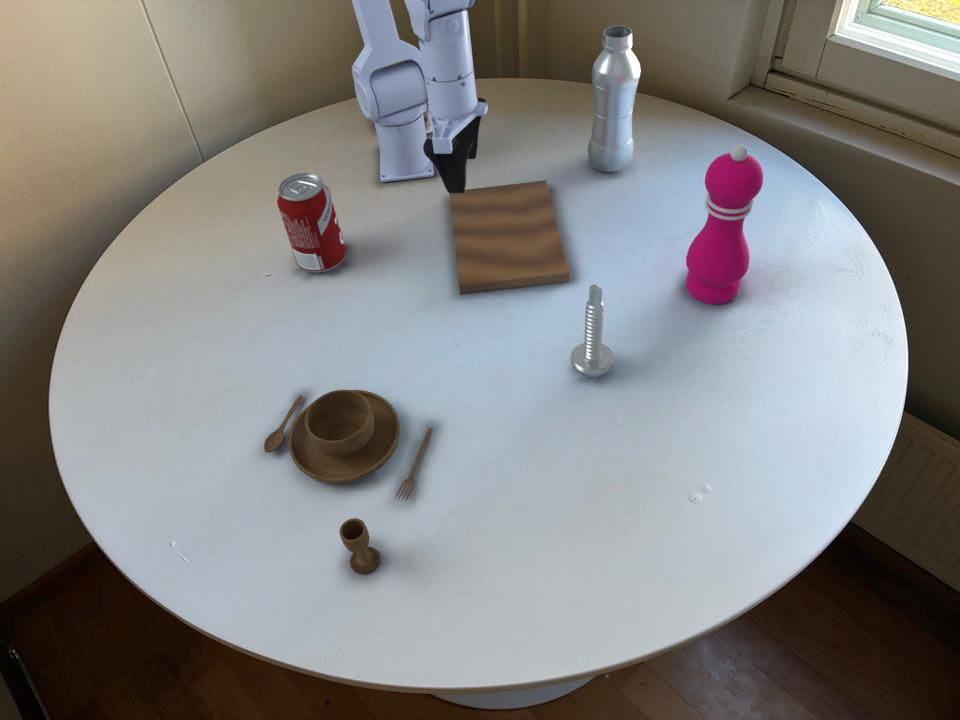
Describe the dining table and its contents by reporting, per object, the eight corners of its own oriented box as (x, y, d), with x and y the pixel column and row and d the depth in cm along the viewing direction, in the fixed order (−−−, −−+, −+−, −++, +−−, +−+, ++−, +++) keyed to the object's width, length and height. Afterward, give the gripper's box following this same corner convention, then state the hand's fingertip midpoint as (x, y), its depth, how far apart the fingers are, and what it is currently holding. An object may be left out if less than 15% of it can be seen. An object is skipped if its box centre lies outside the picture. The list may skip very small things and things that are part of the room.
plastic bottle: (578, 161, 114) (582, 29, 99) (617, 147, 116) (626, 15, 101) (601, 183, 110) (608, 48, 95) (641, 168, 112) (654, 34, 97)
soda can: (322, 283, 100) (299, 208, 91) (287, 264, 103) (261, 191, 94) (357, 254, 104) (338, 180, 95) (322, 237, 107) (301, 163, 98)
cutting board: (450, 200, 110) (448, 191, 109) (546, 188, 110) (546, 180, 109) (459, 294, 97) (458, 285, 96) (569, 281, 97) (569, 272, 96)
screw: (570, 353, 89) (613, 354, 88) (569, 385, 86) (613, 387, 85) (572, 269, 79) (619, 270, 79) (571, 301, 76) (620, 302, 75)
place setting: (442, 413, 84) (436, 379, 80) (378, 578, 72) (367, 548, 67) (298, 388, 88) (285, 353, 84) (214, 540, 76) (193, 509, 72)
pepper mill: (743, 310, 91) (778, 167, 76) (680, 305, 93) (704, 163, 78) (741, 270, 96) (775, 128, 81) (682, 265, 97) (705, 125, 82)
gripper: (471, 101, 81) (483, 208, 91) (493, 42, 91) (502, 144, 101) (407, 101, 83) (426, 206, 92) (436, 43, 93) (450, 143, 102)
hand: (462, 174), depth 97 cm, fingers open, 7 cm apart
